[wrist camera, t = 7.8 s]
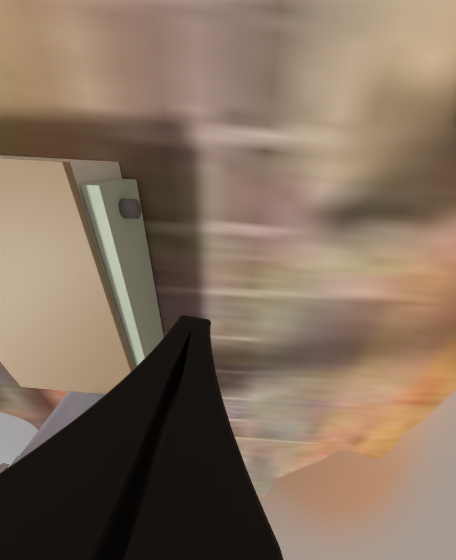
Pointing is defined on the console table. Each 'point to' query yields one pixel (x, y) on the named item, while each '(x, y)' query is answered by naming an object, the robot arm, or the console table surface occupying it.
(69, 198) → the beige flat box
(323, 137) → the console table surface
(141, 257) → the door
